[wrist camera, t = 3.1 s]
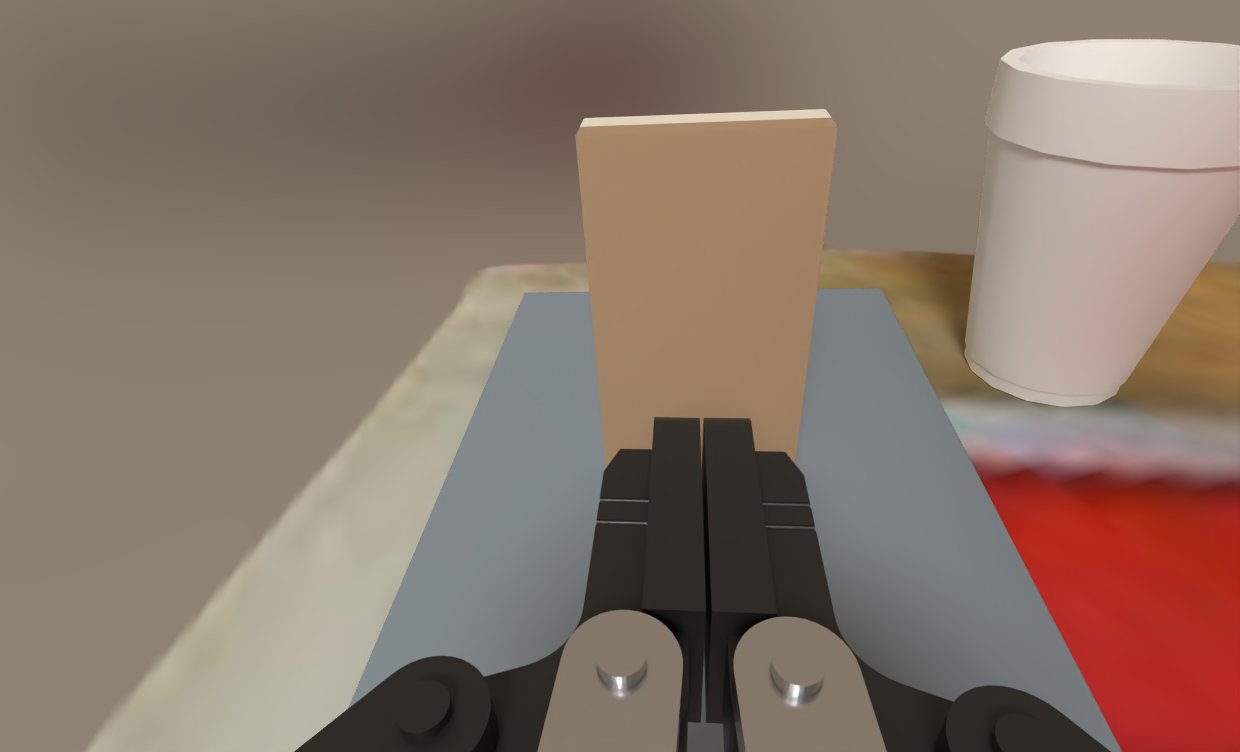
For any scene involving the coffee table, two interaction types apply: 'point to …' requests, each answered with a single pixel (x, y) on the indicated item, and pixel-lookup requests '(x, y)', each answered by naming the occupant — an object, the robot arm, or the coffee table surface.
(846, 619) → the mat
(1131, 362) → the foam cup
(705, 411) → the tile
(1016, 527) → the coffee table surface
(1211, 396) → the coffee table surface
